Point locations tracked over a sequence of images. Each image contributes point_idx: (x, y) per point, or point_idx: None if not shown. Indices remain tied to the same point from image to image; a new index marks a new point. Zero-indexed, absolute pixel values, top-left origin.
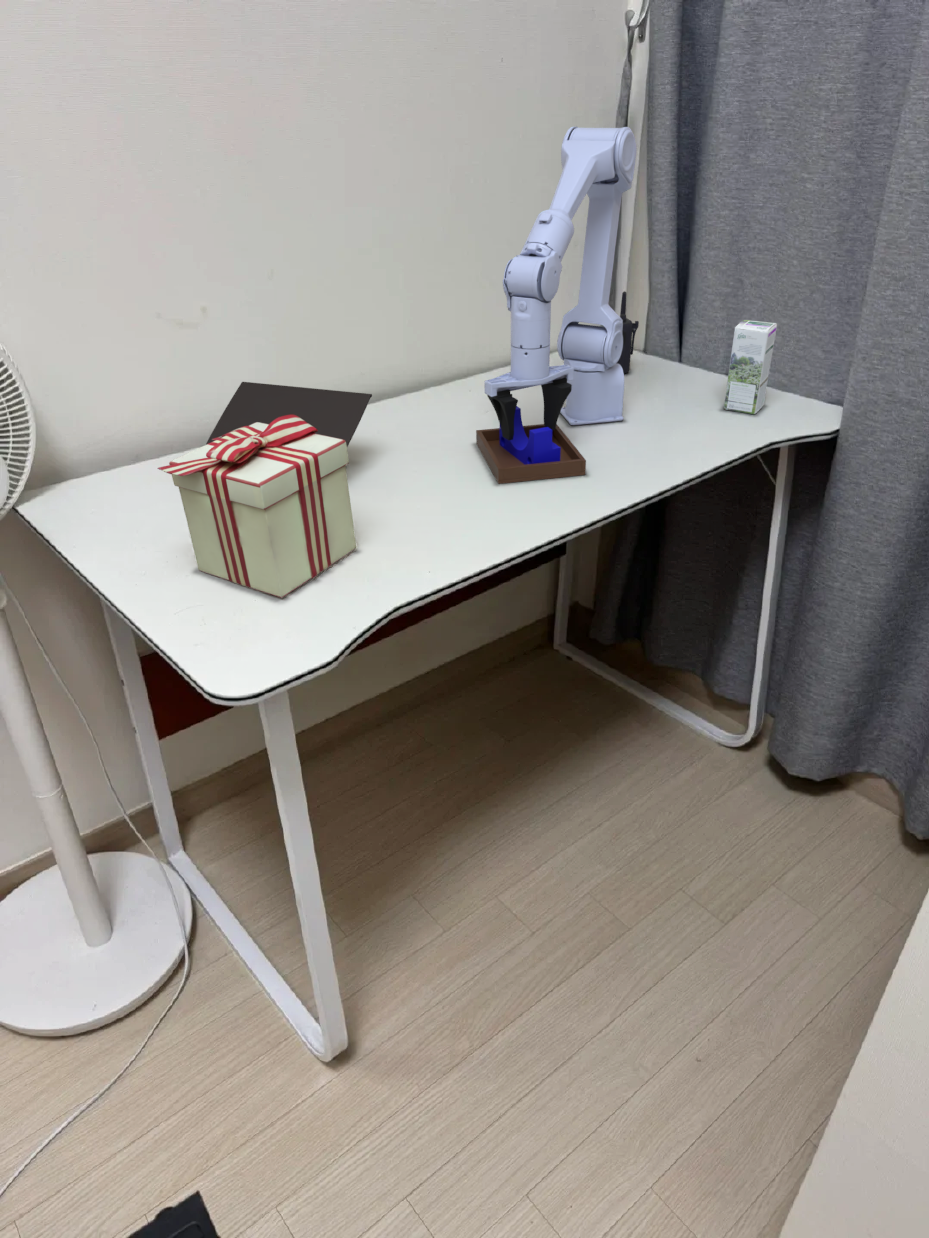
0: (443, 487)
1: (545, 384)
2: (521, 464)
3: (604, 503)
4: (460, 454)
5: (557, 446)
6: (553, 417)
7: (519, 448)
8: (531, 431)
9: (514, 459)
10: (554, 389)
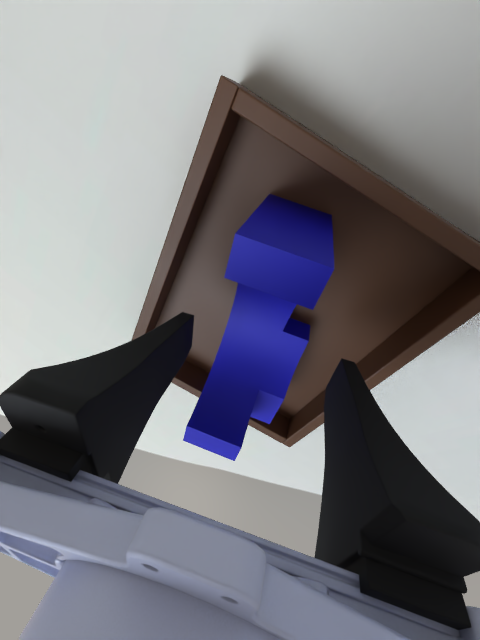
0: (47, 271)
1: (363, 526)
2: (221, 330)
3: (235, 462)
4: (146, 131)
5: (269, 418)
6: (326, 429)
7: (238, 317)
8: (185, 431)
9: (227, 302)
10: (328, 551)
